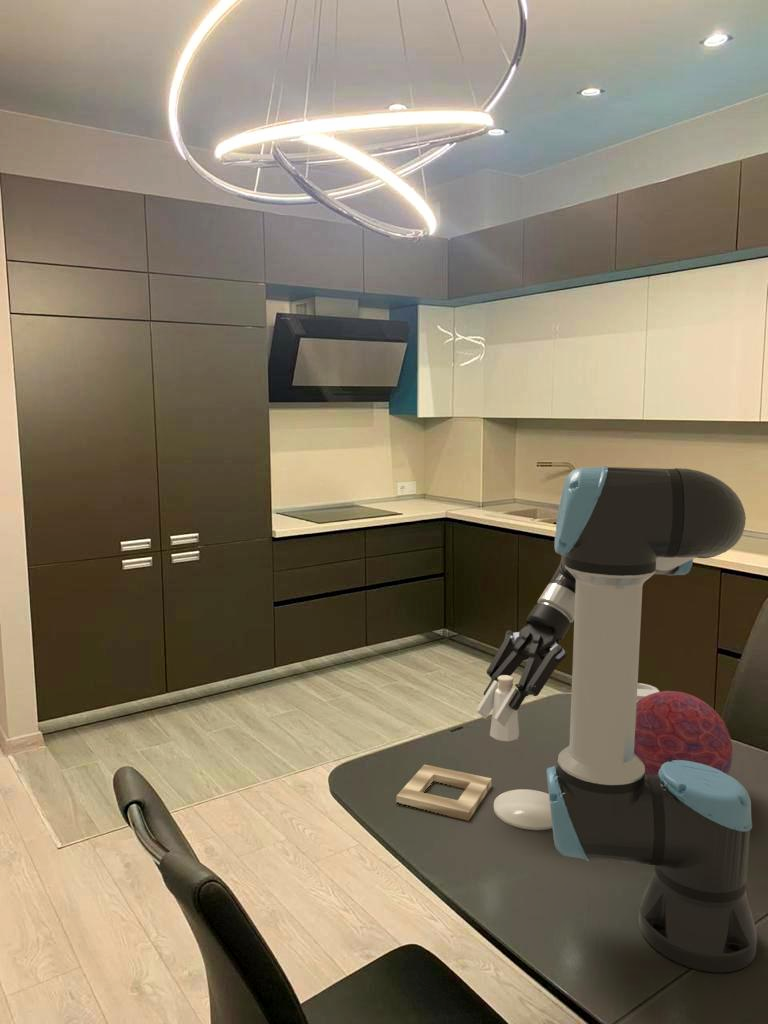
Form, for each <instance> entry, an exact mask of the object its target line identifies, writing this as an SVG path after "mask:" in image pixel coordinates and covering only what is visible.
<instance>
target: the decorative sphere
mask: <svg viewBox="0 0 768 1024" xmlns="http://www.w3.org/2000/svg"><path fill="white" fill-rule="evenodd" d="M634 754H635V755H636V756H637V757H638V758H639V759H640V760H641V761H642V762H643V764H644V766H645V774H646V775H658V772H659V769H660V768H661V766H662V765H663V764H664V763H666V762H671V761H673V760H685V761H691V762H696V763H700V764H704V765H707V766H710V767H713V768H715V769H718V770H720V771H722V772H724V773H726V774H728V775H729V772H730V770H731V766H732V762H733V742H732V737H731V735H730V731H729V729H728V727H727V725H726V722H724V720H723V719H722V717H721V716H720V715H719V714H718V712H717V711H716V710H715V709H714V708H713V707H712V706H711V705H709V704H708V703H706V701H704V700H702V699H700V698H699V697H696V696H694V695H692V694H689V693H686V692H683V691H677V690H676V691H675V690H663V691H659V692H656V693H653V694H650V695H648V696H645V697H644V698H642V699H640V700H639V701H637V705H636V725H635V746H634Z"/></svg>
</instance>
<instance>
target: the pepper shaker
mask: <svg viewBox="0 0 768 1024" xmlns="http://www.w3.org/2000/svg"><path fill="white" fill-rule="evenodd" d="M513 684H514V677H513V676H512V675H511V676H508V675H501V676H499V677H498V688H497V689H496V691H495V696H494V704H493V708H492V713H491V723H490V729H489V730H490V731H489V736H490V737H492V738H493V739H495V740H496V741H502V742H511V741H516V740H518V739H519V736H520V727H519V726H520V725H519V716H518V715H519V714H518V710H514V712H513V713H512V715H511V717H510V718H509V720H508V722H507V723H506V725H505V727H503V726H501V725H500V724H499V723H498V722H497V721H496V720H495V719H494V717H495V715H496V713H497V712H498V710H499V708H500V707H501V705H502V703H503V702H504V700H505V698H506V697H507V695H508V694H509V692H510V690H511V689H512V687H514V685H513Z"/></svg>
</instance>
